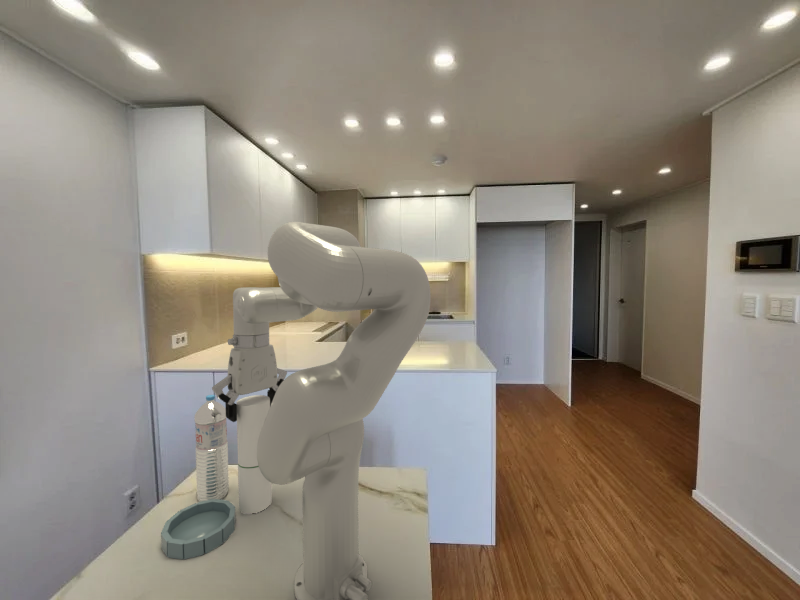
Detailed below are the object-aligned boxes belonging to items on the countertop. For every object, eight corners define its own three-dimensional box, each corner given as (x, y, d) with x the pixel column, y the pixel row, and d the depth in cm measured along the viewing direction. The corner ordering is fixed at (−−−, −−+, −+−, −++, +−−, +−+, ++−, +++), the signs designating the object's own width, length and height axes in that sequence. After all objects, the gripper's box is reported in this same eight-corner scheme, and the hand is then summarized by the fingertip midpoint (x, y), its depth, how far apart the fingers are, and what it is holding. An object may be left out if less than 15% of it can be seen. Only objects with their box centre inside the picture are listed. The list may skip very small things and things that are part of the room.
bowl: (246, 530, 72) (246, 516, 71) (176, 570, 62) (175, 555, 61) (219, 504, 80) (219, 492, 80) (153, 536, 70) (153, 522, 70)
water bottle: (200, 490, 85) (197, 393, 84) (230, 484, 87) (227, 389, 86) (194, 507, 79) (190, 402, 77) (227, 501, 81) (224, 398, 80)
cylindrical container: (277, 495, 83) (275, 395, 82) (262, 515, 76) (260, 406, 75) (249, 493, 84) (247, 394, 82) (232, 513, 77) (229, 405, 75)
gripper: (220, 349, 69) (221, 431, 70) (294, 338, 82) (294, 406, 83) (204, 344, 73) (206, 421, 75) (277, 334, 87) (277, 399, 88)
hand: (253, 413), depth 79 cm, fingers open, 9 cm apart
